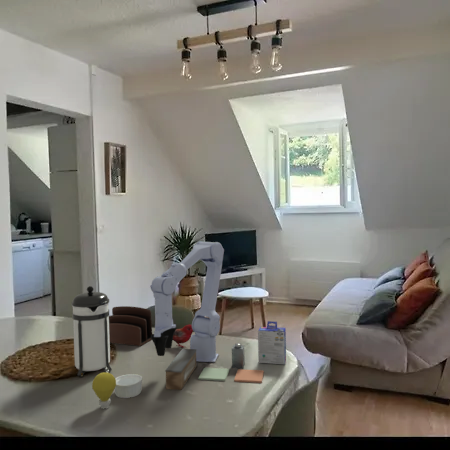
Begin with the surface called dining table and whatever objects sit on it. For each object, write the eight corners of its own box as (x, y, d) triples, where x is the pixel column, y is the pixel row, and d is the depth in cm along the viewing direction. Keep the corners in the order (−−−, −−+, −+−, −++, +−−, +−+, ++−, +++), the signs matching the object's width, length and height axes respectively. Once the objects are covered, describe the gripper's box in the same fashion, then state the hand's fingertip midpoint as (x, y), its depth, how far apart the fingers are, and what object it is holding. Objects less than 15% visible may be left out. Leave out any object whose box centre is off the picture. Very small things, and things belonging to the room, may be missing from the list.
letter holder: (114, 335, 194) (113, 304, 193) (152, 339, 187) (152, 307, 186) (100, 342, 184) (99, 309, 183) (141, 346, 177) (140, 313, 177)
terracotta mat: (234, 381, 141) (234, 379, 141) (238, 370, 149) (238, 369, 149) (261, 382, 139) (261, 381, 139) (263, 372, 148) (263, 370, 148)
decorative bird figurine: (193, 350, 171) (192, 326, 170) (157, 344, 180) (157, 320, 179) (196, 348, 173) (196, 324, 173) (161, 342, 182) (161, 319, 182)
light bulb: (95, 402, 127) (94, 369, 127) (118, 401, 128) (117, 368, 127) (90, 413, 121) (89, 378, 120) (114, 411, 121) (113, 377, 121)
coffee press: (124, 364, 158) (122, 283, 156) (94, 380, 143) (91, 291, 142) (88, 358, 165) (85, 280, 163) (56, 373, 150) (52, 288, 149)
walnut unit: (165, 389, 136) (164, 370, 135) (182, 365, 156) (181, 348, 155) (182, 390, 135) (181, 371, 134) (197, 366, 155) (196, 349, 154)
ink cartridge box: (286, 359, 160) (286, 321, 159) (285, 365, 154) (285, 325, 154) (260, 358, 162) (259, 320, 161) (258, 363, 156) (257, 324, 156)
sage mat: (198, 379, 143) (198, 377, 143) (204, 369, 152) (204, 367, 151) (225, 380, 141) (225, 379, 141) (229, 370, 150) (229, 368, 150)
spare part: (232, 367, 152) (231, 345, 152) (233, 363, 156) (233, 342, 156) (243, 368, 152) (242, 346, 151) (244, 364, 156) (244, 342, 155)
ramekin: (117, 401, 128) (116, 387, 127) (110, 390, 136) (110, 377, 135) (146, 395, 132) (146, 381, 132) (138, 384, 140) (137, 371, 139)
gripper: (168, 318, 137) (169, 359, 138) (180, 307, 152) (181, 345, 152) (147, 317, 138) (148, 358, 139) (161, 306, 153) (162, 344, 153)
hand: (164, 351), depth 146 cm, fingers open, 7 cm apart
